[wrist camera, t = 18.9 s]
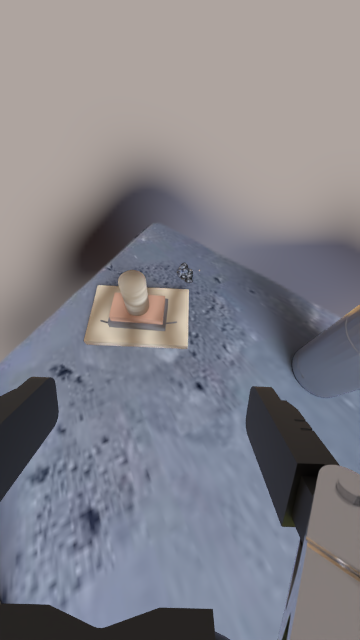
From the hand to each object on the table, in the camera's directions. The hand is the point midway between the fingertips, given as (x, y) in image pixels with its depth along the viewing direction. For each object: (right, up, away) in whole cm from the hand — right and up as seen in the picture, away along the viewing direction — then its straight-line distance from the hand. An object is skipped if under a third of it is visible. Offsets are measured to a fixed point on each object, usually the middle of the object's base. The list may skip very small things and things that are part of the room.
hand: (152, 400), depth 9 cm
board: (-6, +4, +34) cm, 35 cm away
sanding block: (-6, +4, +33) cm, 34 cm away
